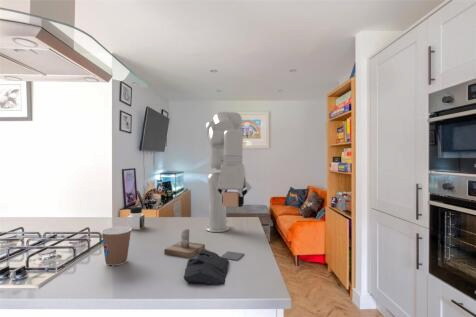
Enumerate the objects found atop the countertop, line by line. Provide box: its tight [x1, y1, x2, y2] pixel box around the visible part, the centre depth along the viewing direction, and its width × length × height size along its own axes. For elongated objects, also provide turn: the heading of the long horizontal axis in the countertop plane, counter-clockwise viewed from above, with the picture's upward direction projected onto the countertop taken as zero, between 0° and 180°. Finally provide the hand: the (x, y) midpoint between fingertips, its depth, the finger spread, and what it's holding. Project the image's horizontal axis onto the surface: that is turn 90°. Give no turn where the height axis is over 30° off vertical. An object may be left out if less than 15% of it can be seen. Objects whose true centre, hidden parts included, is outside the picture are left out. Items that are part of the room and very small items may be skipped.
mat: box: [220, 250, 245, 262], centre depth 107 cm, size 8×7×1 cm
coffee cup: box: [100, 226, 133, 267], centre depth 100 cm, size 10×10×12 cm
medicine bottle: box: [126, 205, 145, 231], centre depth 151 cm, size 7×7×12 cm
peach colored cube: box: [223, 190, 240, 208], centre depth 107 cm, size 6×6×5 cm
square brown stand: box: [163, 228, 206, 259], centre depth 112 cm, size 12×12×9 cm
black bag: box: [183, 249, 230, 286], centre depth 92 cm, size 15×22×5 cm
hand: (232, 205), depth 107 cm, fingers closed on peach colored cube, 6 cm apart
